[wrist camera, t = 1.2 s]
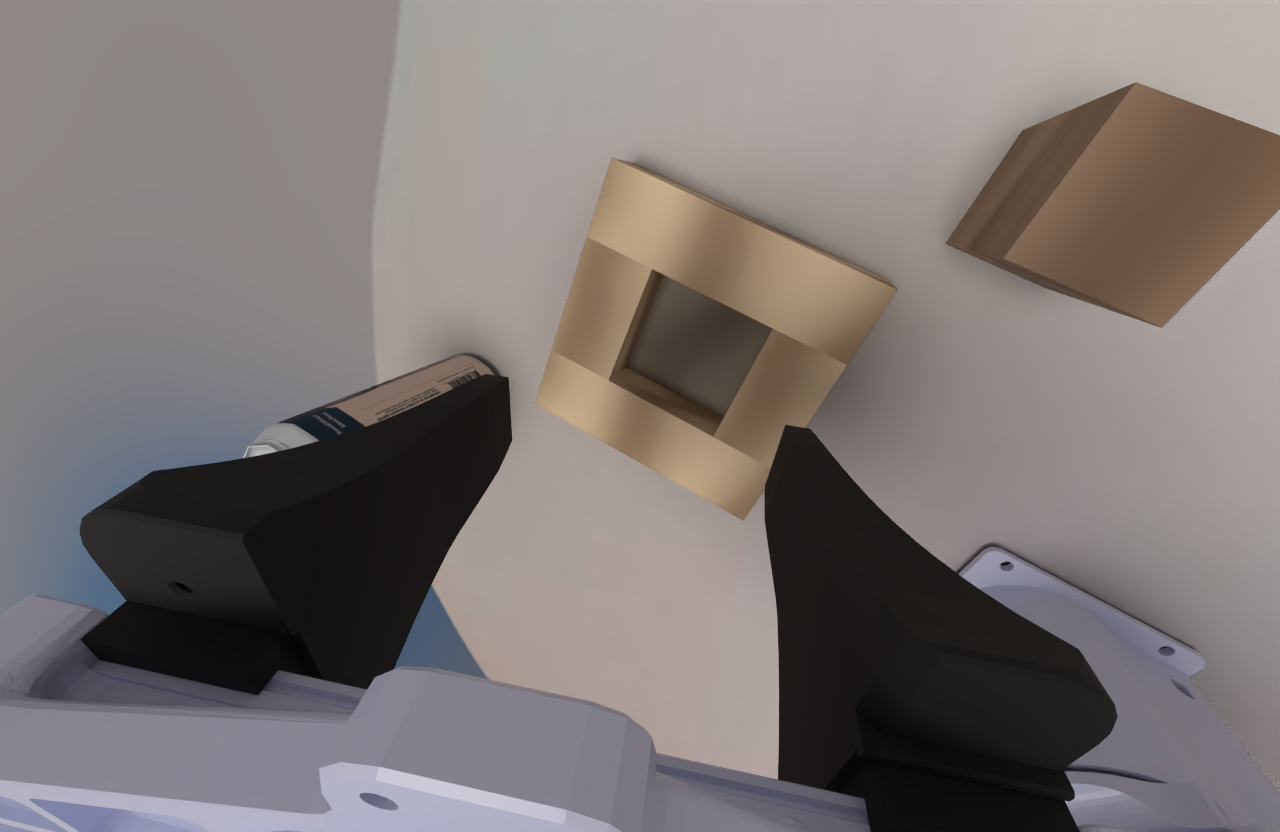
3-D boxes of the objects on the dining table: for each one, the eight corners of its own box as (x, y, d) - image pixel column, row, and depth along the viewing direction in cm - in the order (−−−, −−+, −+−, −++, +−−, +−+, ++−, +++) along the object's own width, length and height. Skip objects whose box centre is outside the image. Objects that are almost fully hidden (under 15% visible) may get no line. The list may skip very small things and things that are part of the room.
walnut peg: (1140, 177, 16) (1333, 155, 10) (1048, 289, 18) (1162, 327, 12) (1022, 130, 16) (1136, 82, 10) (945, 243, 18) (1003, 258, 12)
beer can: (440, 344, 29) (220, 419, 18) (508, 361, 27) (314, 451, 17) (445, 417, 31) (250, 521, 20) (509, 435, 29) (335, 556, 19)
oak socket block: (889, 281, 19) (897, 289, 17) (750, 494, 25) (743, 520, 23) (633, 163, 21) (611, 157, 19) (558, 388, 27) (534, 403, 25)
